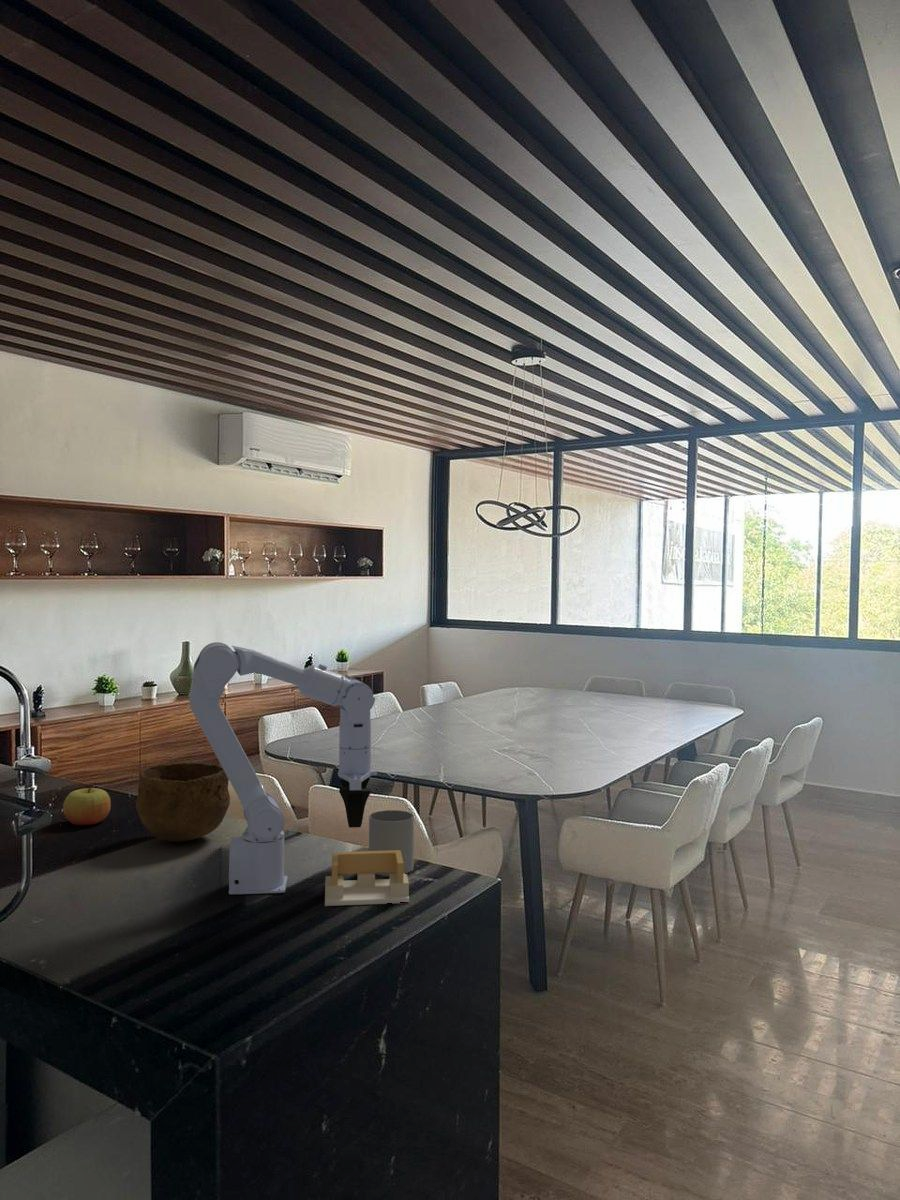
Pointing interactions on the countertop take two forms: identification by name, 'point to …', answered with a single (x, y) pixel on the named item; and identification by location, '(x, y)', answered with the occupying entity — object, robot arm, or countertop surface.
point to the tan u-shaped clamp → (367, 863)
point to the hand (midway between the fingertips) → (354, 821)
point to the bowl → (182, 800)
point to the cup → (393, 835)
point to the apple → (87, 806)
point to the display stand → (366, 890)
